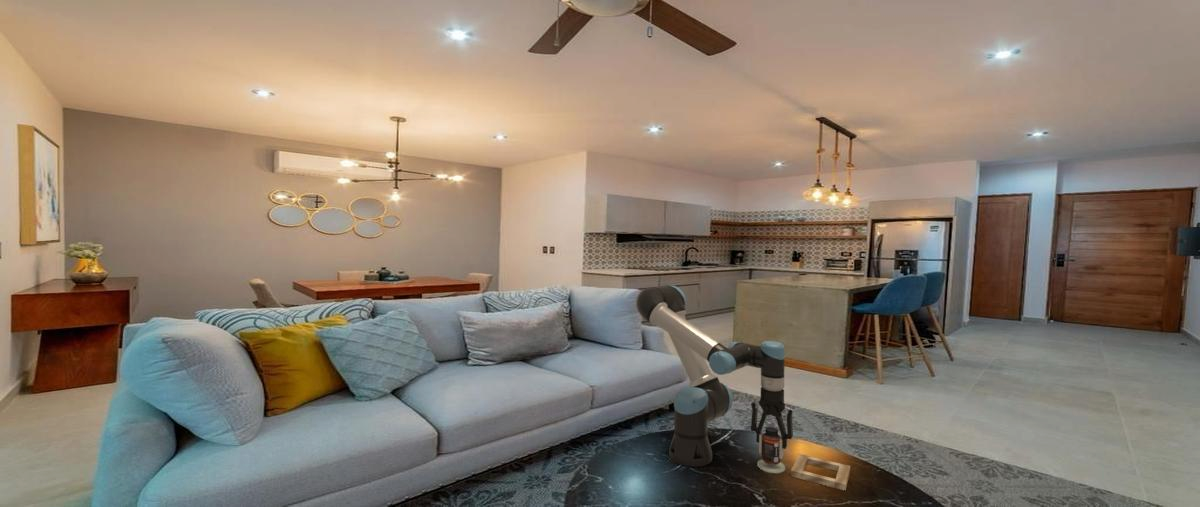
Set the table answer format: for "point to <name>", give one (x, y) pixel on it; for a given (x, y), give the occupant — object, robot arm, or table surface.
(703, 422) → the robot arm
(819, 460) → the oak holder
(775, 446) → the supplement bottle
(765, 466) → the cream flat disc
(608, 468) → the table surface
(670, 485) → the table surface
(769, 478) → the table surface
